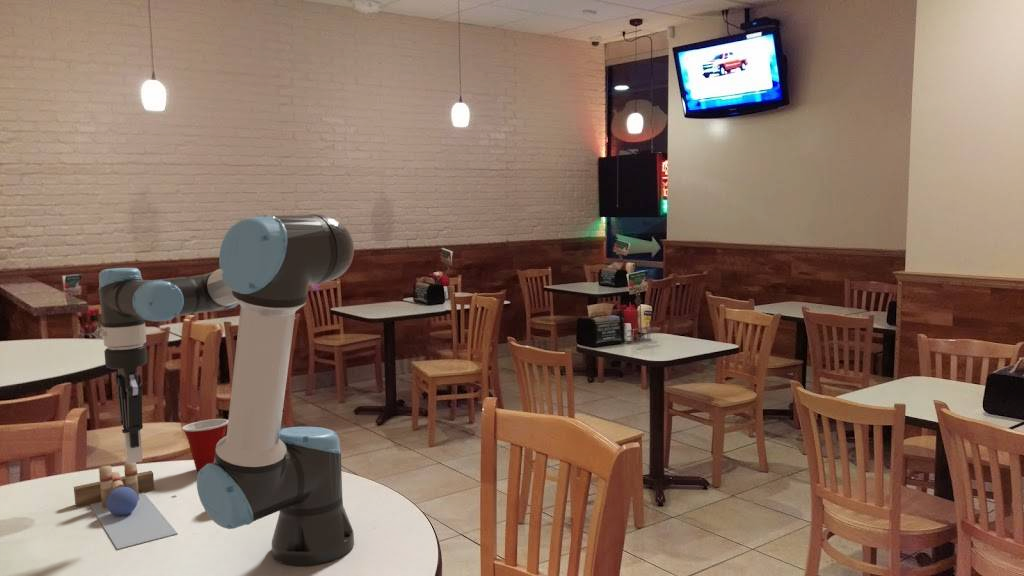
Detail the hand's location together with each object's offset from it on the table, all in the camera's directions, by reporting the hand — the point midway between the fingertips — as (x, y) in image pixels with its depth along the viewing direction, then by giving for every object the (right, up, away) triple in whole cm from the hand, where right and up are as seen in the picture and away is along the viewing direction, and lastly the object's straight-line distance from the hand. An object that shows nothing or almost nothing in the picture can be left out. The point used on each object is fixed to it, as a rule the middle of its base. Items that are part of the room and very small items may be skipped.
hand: (134, 461), depth 157 cm
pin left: (-13, -13, +15) cm, 23 cm away
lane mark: (-4, -14, +7) cm, 16 cm away
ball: (-7, -11, +10) cm, 16 cm away
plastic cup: (0, -11, +38) cm, 39 cm away
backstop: (-14, -13, +21) cm, 28 cm away
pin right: (-9, -13, +18) cm, 23 cm away
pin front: (-9, -12, +13) cm, 20 cm away
